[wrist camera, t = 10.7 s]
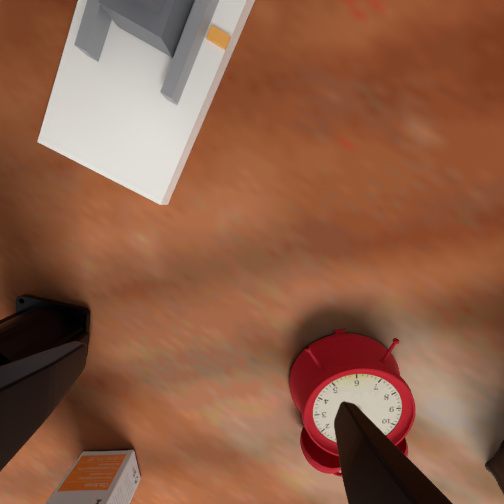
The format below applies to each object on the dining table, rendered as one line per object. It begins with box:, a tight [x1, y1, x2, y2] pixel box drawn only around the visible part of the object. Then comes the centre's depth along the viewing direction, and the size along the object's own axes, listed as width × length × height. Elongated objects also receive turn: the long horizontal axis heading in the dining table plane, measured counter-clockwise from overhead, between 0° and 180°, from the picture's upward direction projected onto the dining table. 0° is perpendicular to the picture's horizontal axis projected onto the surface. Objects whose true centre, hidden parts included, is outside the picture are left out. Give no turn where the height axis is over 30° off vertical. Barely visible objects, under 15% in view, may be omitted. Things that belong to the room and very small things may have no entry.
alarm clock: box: [289, 329, 415, 476], centre depth 21 cm, size 10×6×15 cm
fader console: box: [38, 0, 255, 205], centre depth 16 cm, size 22×10×3 cm, turn 153°
